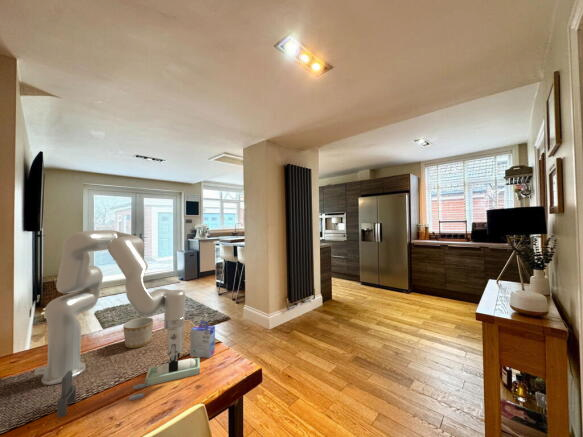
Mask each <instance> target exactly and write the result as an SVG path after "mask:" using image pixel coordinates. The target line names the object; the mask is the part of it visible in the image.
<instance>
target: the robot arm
mask: <svg viewBox="0 0 583 437" xmlns="http://www.w3.org/2000/svg"><path fill="white" fill-rule="evenodd" d="M105 250H107V251H108V253H109V255H110V256H111V257H112V259H113V260H114V262H115V264H116V265H117V266H118V268H119V269H120V271H121V273H122V274H123V275H124V277H125V281H124V282H125V284H124V285H125V289H124V290H125V295H126V298H127V300H128V302H129V303H130V304H131V306H132V307H133V309H134V310H135V311H136V312H137V313H138V314H140V315H142V316H150V315H153V314H154V313H156V312H157V311H158V310H160V309H162V308H164V312H163V313H164V317H163V318H164V319H163V320H164V322H163V328H164V329H165V330H166V331H167V335H166V336H167V341H166V342H167V355H168V356H169V358H168V359H169V360H168V363H169V373H171V372H175V371H178V361H179V359H178V358H180V355H181V353H182V351H183V344H184V343H183V336H184V335H183V333H184V332H183V327H184V326H185V325H186V292H185V291H184V290H183V289H167V288H157V289H154V290H153V291H150V292H148V290H147V288H146V287H145V285H144V275H145V272H147V269H148V267H149V266H148V263H147V262H146V261H145V259H144V257H143V256H142V254H141V253H142V252H143V251H144V250H145V242H144V241H143V239H142V238H141V237H139V236H137V235H133V234H129V233H127V232H126V233H125V232H121V231H117V230H112V229H111V230H110V229H103V230H102V229H101V230H98V229H97V230H84V231H77V232H75V233H72V234H69V235H68V236H67V237H66V238H65V240H64V242H63V244H62V256H61V262H60V265H59V270H58V274H57V279H56V282H55V283H56V284H55V285H56V286H55V287H56V290H57V291H58V293H61V294H64V295H61V296H58V297H56V298H54V299H52V300H51V301H49V303H47V304H46V306H45V308H44V316H45V317H44V318H45V320H46V324H47V365H46V366H41V367H35V369H34V376H35V377H37V376H38V377H39V376H42V377H41V384H43V385H47V386H48V385H50V386H51V385H56V384H60V383H61V384H62V378H63V377H64V376H65V375H66V373H67V372H68V371H71V370H72V379H73V378H75V377H77V376H79V375H81V374H82V373H83V372H84V371H85V370H86V363H85V362H82V361H81V359H82V358H81V356H82V354H81V350H82V348H81V347H82V346H81V345H82V344H81V343H82V326H81V323H80V321H79V320H78V319H77V316H79V315H80V314H81V315H82V314H83V313H85V312H88V311H89V310H91V309H93V308H95V306H96V304H97V302H98V300H99V297H100V292H101V287H102V285H103V284H102V283H103V277H104V276H103V272H102V269H101V268H100V267H98V266H96V265H94V264H92V265H91V264H90V261H91V257H90V254H89V253H92V252H99V251H101V252H102V251H105Z"/></svg>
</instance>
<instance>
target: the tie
mask: <svg viewBox="0 0 583 437" xmlns="http://www.w3.org/2000/svg"><path fill="white" fill-rule="evenodd" d="M76 394H77V385H76V384H75V385H73V378H72V370H71V371H68V372H67V373H66V375H65V376H64V377H63V378H62V382H61V396H60V397H59V398H58V399H57V403H56V418H57V419H59V418H64V417H65V416H67V413H68V411H67V410H68V409H67V408H68V407H67V406H68V405H69V404H73V403H75V402H76V400H77V399H76V398H77V395H76Z"/></svg>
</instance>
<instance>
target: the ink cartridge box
mask: <svg viewBox="0 0 583 437" xmlns="http://www.w3.org/2000/svg"><path fill="white" fill-rule="evenodd" d="M208 324H209V321H204V320H201V321H200V323H199V325H195V326H194V327H192V329H190V338H189V344H190V345H189V358H190V357H191V358H192V357H193V358H199V357H200V358H209V359H210V358H211V357H212V356H213V355H214V353H215V352H216V325H208Z"/></svg>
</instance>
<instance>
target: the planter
mask: <svg viewBox="0 0 583 437" xmlns="http://www.w3.org/2000/svg"><path fill="white" fill-rule="evenodd" d="M153 325H154V319H153V318H152V317H139V318H135V319H134V318H133V319H131V320H129V321H126V322H125V323H124V324H123V335H124V336H123V337H124V345H125V347H126V348H128V349H136V348H142V347H144V346H145V345H147V344H149V343H150V341H152V335H153V334H152V333H153Z"/></svg>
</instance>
